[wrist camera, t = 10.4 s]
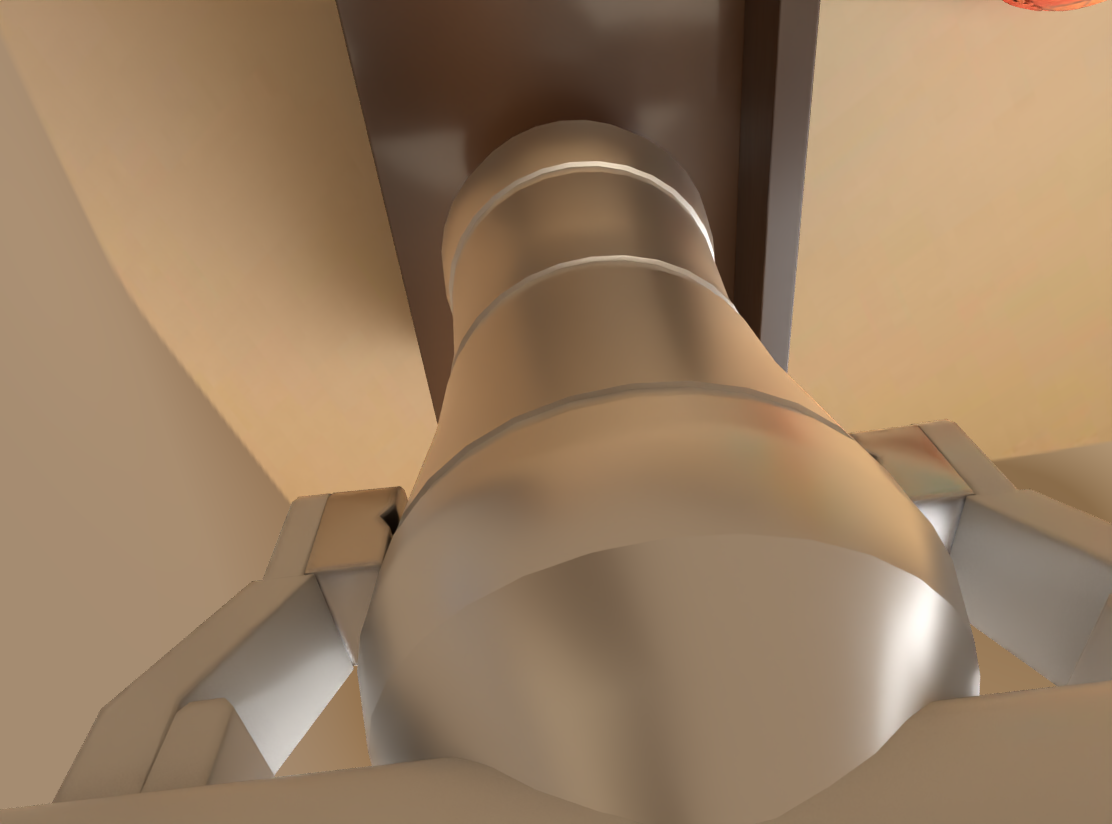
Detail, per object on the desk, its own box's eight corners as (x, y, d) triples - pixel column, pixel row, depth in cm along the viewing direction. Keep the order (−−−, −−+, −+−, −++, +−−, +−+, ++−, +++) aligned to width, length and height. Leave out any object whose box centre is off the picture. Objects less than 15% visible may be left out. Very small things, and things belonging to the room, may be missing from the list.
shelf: (448, 349, 32) (430, 477, 24) (354, -88, 23) (280, -97, 15) (717, 316, 32) (782, 435, 24) (728, -135, 23) (836, -168, 15)
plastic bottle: (687, 310, 22) (1262, 1485, 5) (469, 339, 22) (367, 1584, 5) (685, 83, 18) (2423, 1530, 2) (423, 119, 18) (-291, 1825, 2)
